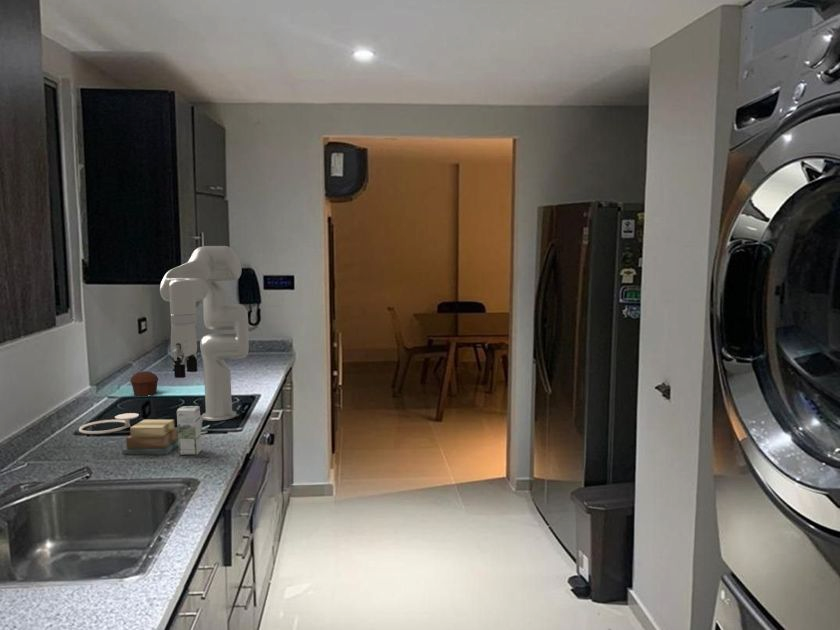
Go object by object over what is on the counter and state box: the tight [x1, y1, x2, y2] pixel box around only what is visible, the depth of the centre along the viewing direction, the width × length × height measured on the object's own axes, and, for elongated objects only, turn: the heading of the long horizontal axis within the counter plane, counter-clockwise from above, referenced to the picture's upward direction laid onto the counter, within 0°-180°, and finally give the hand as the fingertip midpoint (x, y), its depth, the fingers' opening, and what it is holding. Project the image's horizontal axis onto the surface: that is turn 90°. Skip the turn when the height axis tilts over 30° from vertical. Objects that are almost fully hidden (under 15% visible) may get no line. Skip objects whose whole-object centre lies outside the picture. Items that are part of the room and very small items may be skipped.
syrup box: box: [176, 405, 203, 456], centre depth 222 cm, size 6×6×14 cm
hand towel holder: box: [78, 412, 140, 435], centre depth 254 cm, size 17×4×21 cm
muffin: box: [129, 371, 159, 397], centre depth 306 cm, size 12×11×10 cm
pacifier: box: [200, 414, 211, 435], centre depth 245 cm, size 7×6×6 cm
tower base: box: [121, 419, 179, 455], centre depth 228 cm, size 14×14×8 cm
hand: (186, 374), depth 220 cm, fingers open, 9 cm apart
